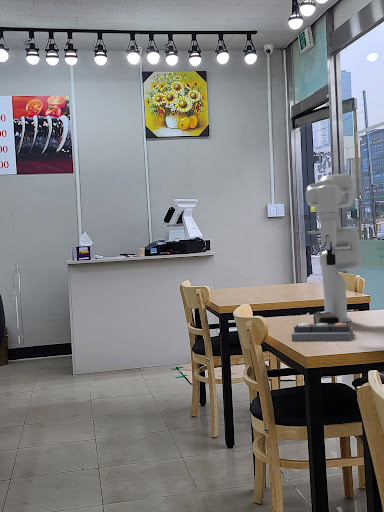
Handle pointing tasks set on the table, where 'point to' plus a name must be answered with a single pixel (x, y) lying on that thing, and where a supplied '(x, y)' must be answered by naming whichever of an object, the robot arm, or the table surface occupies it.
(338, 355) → the table surface
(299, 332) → the button panel
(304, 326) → the cream button
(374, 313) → the table surface
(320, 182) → the robot arm
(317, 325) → the sage button
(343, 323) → the terracotta button
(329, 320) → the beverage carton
